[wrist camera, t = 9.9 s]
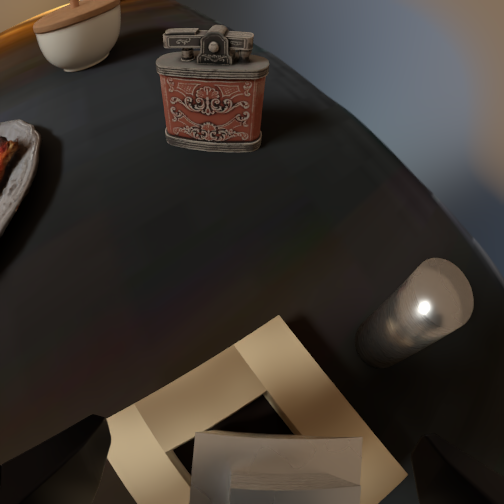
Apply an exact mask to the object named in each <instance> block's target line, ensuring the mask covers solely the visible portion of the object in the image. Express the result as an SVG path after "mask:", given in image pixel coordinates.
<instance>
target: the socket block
mask: <svg viewBox="0 0 504 504" xmlns="http://www.w3.org/2000/svg"><path fill="white" fill-rule="evenodd" d="M262 395H264V397H265V398H266V399H267V400H268V402H269V403H270V404H271V406H272V407H273V408H274V410H275V411H276V412H277V413H278V415H279V416H280V417H281V419H282V420H283V421H284V422H285V424H286V425H287V426H288V427H289V429H290V430H291V431H292V432H293V434H294V435H304V436H325V437H363V439H362V462H361V478H360V485H361V496H360V504H378V503H379V502H380V501H381V500H382V499H383V498H384V497H385V496H387V495H388V494H389V493H390V492H391V491H392V490H393V489H394V488H395V487H396V486H397V485H398V484H399V483H400V482H401V481H402V480H403V479H404V478H405V477H406V476H407V475H408V474H407V473H406V472H405V470H404V469H403V468H402V467H401V466H400V464H399V463H398V462H397V461H396V460H395V458H394V457H393V456H392V455H391V454H390V452H389V451H388V450H387V449H386V448H385V446H384V445H383V444H382V443H381V442H380V440H379V439H378V438H377V437H376V435H375V434H374V433H373V432H372V431H371V429H370V428H369V427H368V426H367V424H366V423H365V422H364V421H363V420H362V418H361V417H360V416H359V415H358V413H357V412H356V411H355V410H354V409H353V407H352V406H351V405H350V404H349V402H348V401H347V400H346V399H345V397H344V396H343V395H342V394H341V392H340V391H339V390H338V389H337V388H336V386H335V385H334V384H333V383H332V381H331V380H330V379H329V378H328V376H327V375H326V374H325V373H324V371H323V370H322V369H321V368H320V366H319V365H318V364H317V363H316V361H315V360H314V359H313V358H312V356H311V355H310V354H309V353H308V351H307V350H306V349H305V348H304V346H303V345H302V344H301V342H300V341H299V340H298V339H297V337H296V336H295V335H294V334H293V332H292V331H291V330H290V329H289V327H288V326H287V325H286V323H285V322H284V321H283V320H282V318H281V317H280V316H279V315H278V316H277V317H275V318H274V319H272V320H271V321H269V322H268V323H266V324H265V325H263V326H262V327H260V328H259V329H257V330H256V331H254V332H252V333H251V334H249V335H248V336H246V337H245V338H243V339H242V340H240V341H239V342H237V343H235V344H234V345H232V346H231V347H229V348H228V349H226V350H224V351H223V352H221V353H220V354H218V355H216V356H215V357H213V358H211V359H210V360H208V361H207V362H205V363H203V364H202V365H200V366H198V367H197V368H195V369H193V370H192V371H190V372H188V373H187V374H185V375H183V376H182V377H180V378H178V379H177V380H175V381H173V382H172V383H170V384H168V385H166V386H165V387H163V388H161V389H159V390H158V391H156V392H154V393H152V394H151V395H149V396H147V397H145V398H144V399H142V400H140V401H138V402H136V403H135V404H133V405H131V406H129V407H127V408H126V409H124V410H122V411H120V412H118V413H116V414H114V415H113V416H111V417H109V418H107V422H108V426H109V430H110V434H111V445H110V449H109V452H108V456H107V458H108V460H109V461H110V463H111V465H112V466H113V468H114V470H115V471H116V473H117V474H118V476H119V477H120V479H121V480H122V482H123V483H124V485H125V486H126V488H127V489H128V491H129V492H130V494H131V495H132V496H133V498H134V499H135V501H136V502H137V503H138V504H189V500H190V487H191V475H190V474H189V472H188V471H187V470H186V468H185V467H184V465H183V464H182V463H181V461H180V460H179V458H178V457H177V456H176V454H175V453H174V451H173V450H174V449H176V448H177V447H179V446H181V445H183V444H185V443H186V442H188V441H190V440H192V439H193V438H195V432H202V431H207V430H209V429H210V428H212V427H214V426H215V425H217V424H219V423H220V422H222V421H223V420H225V419H227V418H228V417H230V416H231V415H233V414H235V413H236V412H238V411H239V410H241V409H242V408H244V407H245V406H247V405H248V404H250V403H251V402H253V401H254V400H256V399H257V398H259V397H260V396H262Z"/></svg>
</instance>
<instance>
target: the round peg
mask: <svg viewBox="0 0 504 504" xmlns="http://www.w3.org/2000/svg"><path fill="white" fill-rule="evenodd" d="M472 310H473V293H472V289H471V286H470V284H469V282H468V280H467V278H466V277H465V275H464V274H463V273H462V271H461V270H460V269H459V268H458V267H457V266H455V265H454V264H453V263H451V262H449V261H447V260H445V259H441V258H431V259H428V260H426V261H424V262H423V263H421V265H420V266H419V267H418V268H417V269H416V270H415V271H414V272H413V273H412V274H411V275H410V276H409V277H408V278H407V280H406V281H405V282H404V283H403V284H402V285H401V286H400V287H399V288H398V289H397V290H396V291H395V292H394V293H393V294H392V295H391V296H390V297H389V298H388V299H387V300H386V301H385V302H384V303H383V304H382V305H381V306H380V307H379V308H378V309H377V310H376V311H375V312H374V313H373V314H372V315H370V316H369V317H368V318H367V319H366V320H365V321H364V322H363V323H362V324H361V325H360V327H359V328H358V330H357V333H356V337H355V345H356V350H357V352H358V354H359V356H360V358H361V359H362V360H363V361H364V362H365V363H366V364H368V365H369V366H371V367H374V368H387V367H390V366H392V365H394V364H396V363H398V362H400V361H402V360H403V359H405V358H407V357H409V356H411V355H413V354H415V353H417V352H418V351H420V350H422V349H424V348H426V347H427V346H429V345H431V344H433V343H434V342H436V341H438V340H439V339H441V338H443V337H444V336H446V335H448V334H449V333H451V332H453V331H454V330H456V329H458V328H459V327H461V326H462V325H464V324H465V323H466V322H467V321H468V320H469V318H470V316H471V314H472Z"/></svg>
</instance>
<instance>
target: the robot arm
mask: <svg viewBox="0 0 504 504" xmlns="http://www.w3.org/2000/svg"><path fill="white" fill-rule="evenodd" d="M110 445H111V434H110V430H109V426H108V422H107V419H106V418H104V417H102V416H98V415H94V414H93V415H90V416H88V417H87V418H85V419H83V420H81V421H80V422H78V423H76V424H75V425H73V426H71V427H69V428H68V429H66V430H64V431H62V432H61V433H59V434H57V435H55V436H53V437H52V438H50V439H48V440H46V441H44V442H43V443H41V444H39V445H37V446H35V447H33V448H32V449H30V450H28V451H26V452H24V453H22V454H20V455H19V456H17V457H15V458H13V459H11V460H9V461H7V462H5V463H3V464H2V466H1V465H0V504H92V501H93V499H94V496H95V494H96V492H97V489H98V487H99V484H100V480H101V477H102V473H103V470H104V466H105V462H106V459H107V456H108V452H109V449H110ZM411 461H412V466H413V471H414V477H415V482H416V488H417V494H418V499H419V503H420V504H504V477H503V476H501V475H500V474H498V473H496V472H495V471H493V470H491V469H490V468H488V467H487V466H485V465H483V464H482V463H480V462H479V461H477V460H475V459H474V458H472V457H471V456H469V455H467V454H466V453H464V452H463V451H461V450H460V449H458V448H457V447H455V446H453V445H452V444H450V443H449V442H447V441H446V440H444V439H443V438H441V437H440V436H438V435H437V434H427V435H423V436H422V437H421V438H420V440H419V442H418V443H417V445H416V447H415V449H414V450H413V452H412V456H411Z"/></svg>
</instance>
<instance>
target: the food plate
mask: <svg viewBox="0 0 504 504" xmlns="http://www.w3.org/2000/svg"><path fill="white" fill-rule="evenodd" d="M42 141H43V140H42V136H41V134H40V132H39V131H36V129H35V127H34V126H33V125H31V124H29V123H27V122H24V121H23V120H15V121H13V120H12V121H7V122H2V123H0V236H2V235H3V233H4V231H5V229H6V227H7V226H8V224H9V222H10V221H11V219H12V217H13V215H14V214H15V212H16V211H17V209H18V207H19V205H20V203H21V201H22V200H23V199H24V197H25V196H26V195H27V194H28V193H29V190H30V188H31V184H32V183H33V182H32V181H34V177H35V175H36V173H37V169H38V163H39V152H40V146H41V144H42Z"/></svg>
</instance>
